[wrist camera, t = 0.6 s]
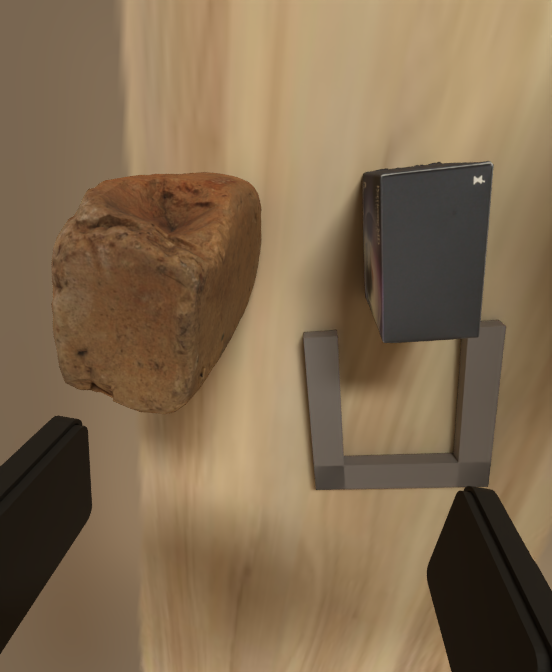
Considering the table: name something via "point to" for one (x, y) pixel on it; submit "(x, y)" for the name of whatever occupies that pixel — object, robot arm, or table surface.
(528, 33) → the table surface
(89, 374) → the block
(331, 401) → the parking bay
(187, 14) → the table surface
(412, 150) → the table surface
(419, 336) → the small box
